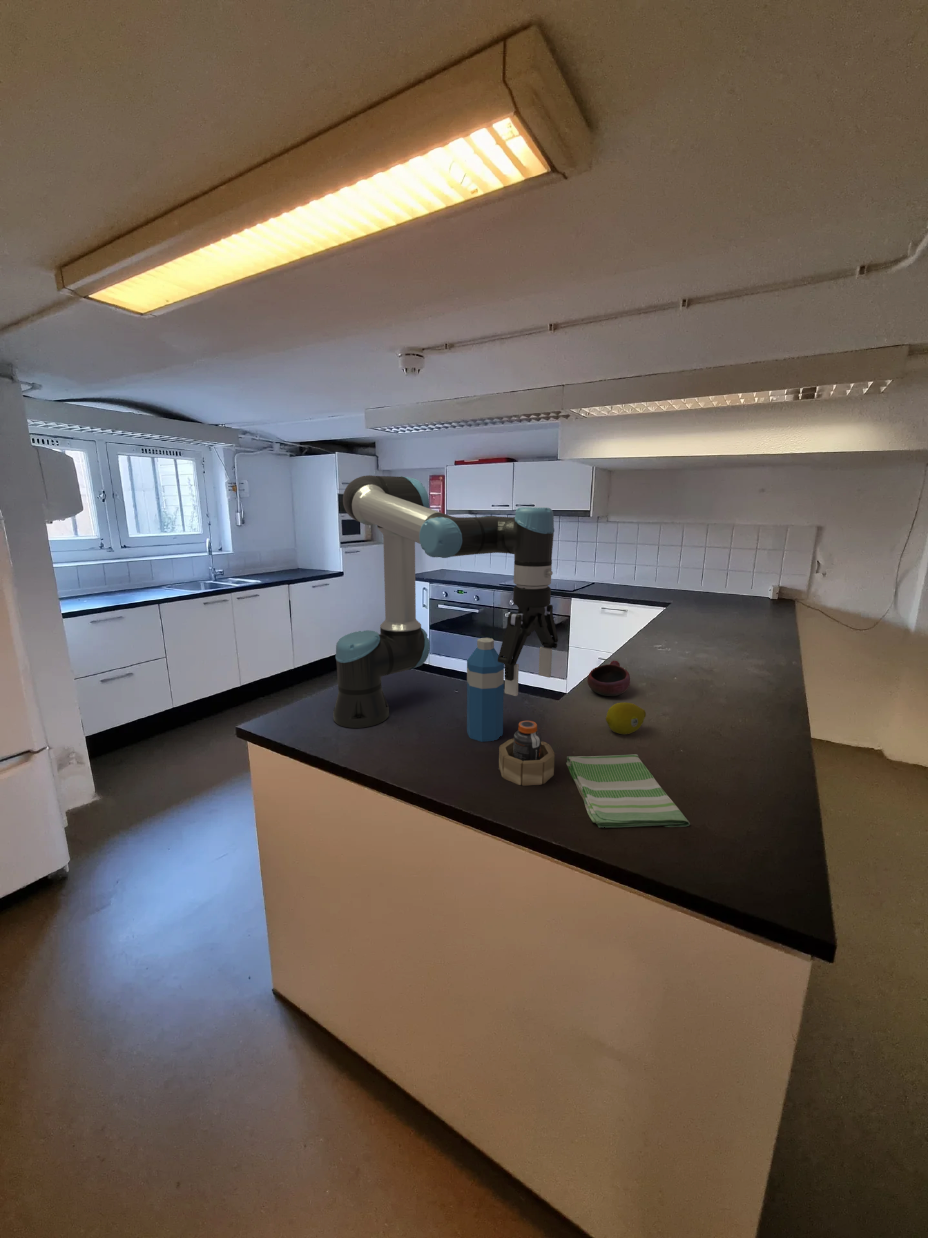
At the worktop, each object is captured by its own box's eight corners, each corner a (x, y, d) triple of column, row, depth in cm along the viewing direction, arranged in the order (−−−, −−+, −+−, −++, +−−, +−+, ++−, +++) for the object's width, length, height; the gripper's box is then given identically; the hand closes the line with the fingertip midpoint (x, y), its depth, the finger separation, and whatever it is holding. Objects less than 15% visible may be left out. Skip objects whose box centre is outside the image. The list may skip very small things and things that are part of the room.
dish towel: (593, 832, 88) (594, 818, 88) (562, 765, 111) (563, 754, 110) (689, 829, 89) (691, 815, 88) (639, 763, 112) (640, 752, 111)
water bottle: (500, 743, 120) (502, 646, 114) (463, 740, 122) (463, 644, 116) (504, 727, 129) (506, 636, 123) (470, 724, 131) (470, 634, 125)
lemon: (609, 740, 122) (611, 710, 120) (598, 726, 129) (600, 698, 127) (651, 738, 122) (654, 709, 120) (638, 725, 130) (640, 697, 128)
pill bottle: (544, 776, 105) (546, 728, 103) (519, 780, 104) (520, 731, 101) (533, 762, 111) (534, 716, 108) (508, 766, 109) (509, 719, 107)
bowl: (635, 701, 145) (637, 676, 144) (592, 701, 145) (593, 676, 143) (618, 682, 161) (620, 659, 159) (579, 682, 161) (580, 659, 159)
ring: (490, 773, 107) (490, 752, 106) (518, 752, 115) (518, 733, 114) (535, 791, 100) (535, 769, 99) (561, 768, 108) (562, 748, 107)
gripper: (514, 596, 86) (511, 707, 91) (576, 580, 105) (571, 672, 110) (480, 591, 91) (479, 698, 96) (546, 576, 110) (542, 666, 115)
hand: (528, 684), depth 103 cm, fingers open, 13 cm apart
